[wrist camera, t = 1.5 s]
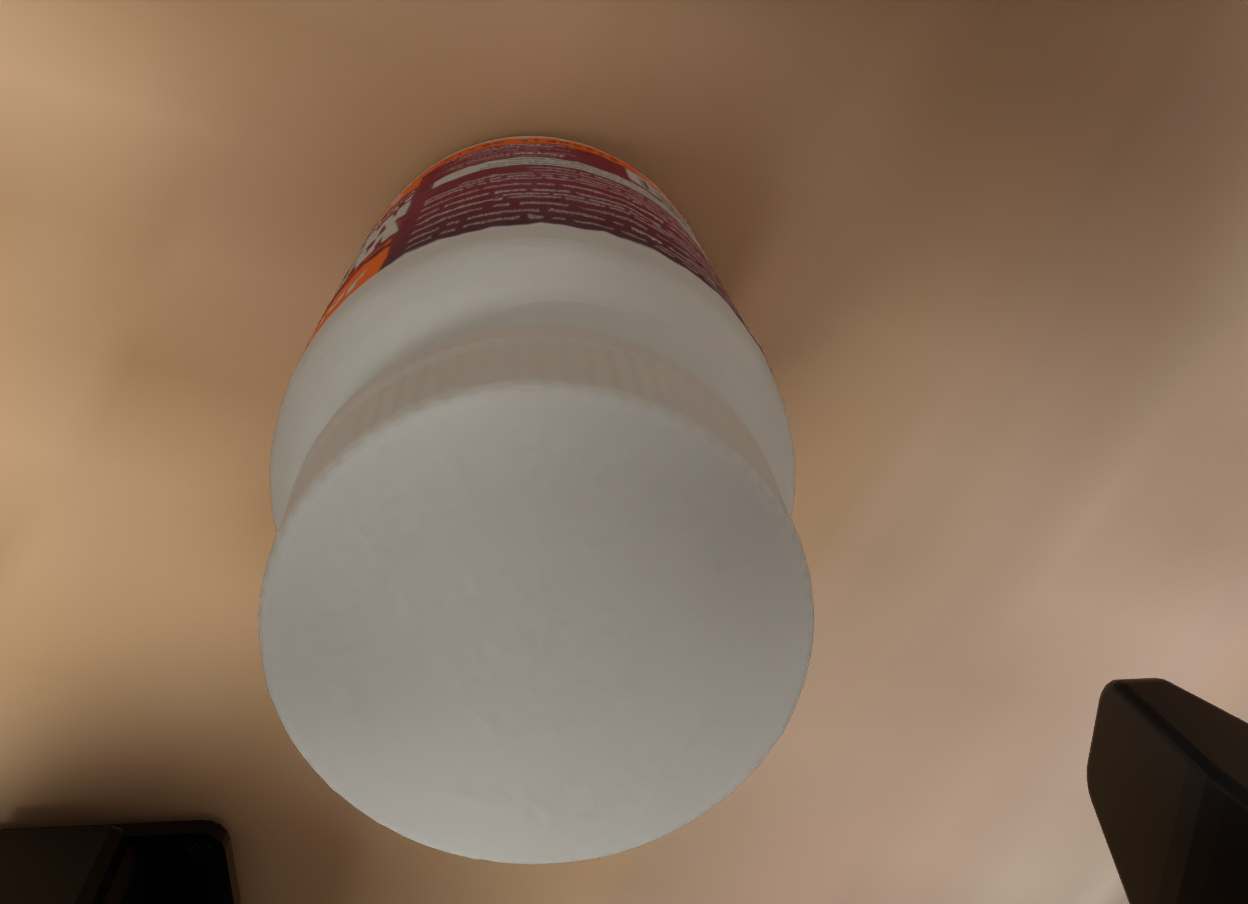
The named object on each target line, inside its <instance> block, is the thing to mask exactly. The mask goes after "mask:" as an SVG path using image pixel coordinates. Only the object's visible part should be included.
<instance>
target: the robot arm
mask: <svg viewBox="0 0 1248 904" xmlns="http://www.w3.org/2000/svg"><path fill="white" fill-rule="evenodd" d="M1087 783H1088V790H1089V794H1090V798H1091V801H1092V804H1093V806H1094V809H1095V812H1096V815H1097V817H1098V820H1099V823H1100V825H1101V828H1102V831H1103V833H1104V836H1105V839H1106V842H1107V844H1108V847H1109V850H1110V852H1111V855H1112V858H1113V860H1114V863H1115V866H1116V869H1117V871H1118V874H1119V877H1120V879H1121V882H1122V885H1123V887H1124V890H1125V893H1126V896H1127V898H1128V901H1129V904H1248V723H1247V722H1245V721H1243V720H1241V719H1239V718H1237V717H1235V716H1233V715H1231V714H1229V713H1228V712H1226V711H1224V710H1222V709H1220V708H1218V707H1216V706H1214V705H1212V704H1210V703H1208V702H1207V701H1205V700H1203V699H1201V698H1199V697H1197V696H1195V695H1193V694H1191V693H1189V692H1188V691H1186V690H1184V689H1182V688H1180V687H1178V686H1176V685H1174V684H1172V683H1170V682H1169V681H1166V680H1164V679H1159V678H1142V679H1118V680H1113V681H1111V682H1110V683H1108V684H1107V685H1106V686H1105V687H1104V689H1103V691H1102V693H1101V696H1100V699H1099V704H1098V710H1097V715H1096V720H1095V726H1094V731H1093V737H1092V742H1091V747H1090V753H1089V758H1088V764H1087ZM195 843H206V844H207V845H209V846H210V847H211V848H210V849H204V848H200V847H198V846H197V845H195ZM0 904H241V902H240V896H239V890H238V884H237V878H236V872H235V865H234V859H233V853H232V847H231V841H230V837H229V834H228V832H227V830H226V829H225V828H223V827H222V826H221V825H220V824H218V823H215V822H213V821H207V820H192V821H171V822H150V823H130V824H109V825H88V826H67V827H46V828H25V829H4V830H0Z"/></svg>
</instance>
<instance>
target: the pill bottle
mask: <svg viewBox="0 0 1248 904" xmlns="http://www.w3.org/2000/svg"><path fill="white" fill-rule="evenodd" d="M270 491H271V502H272V510H273V517H274V522H275V526H276V531H277V535H276V538H275V541H274V544H273V547H272V549H271V552H270V555H269V558H268V562H267V565H266V569H265V573H264V577H263V583H262V589H261V595H260V605H259V643H260V650H261V658H262V665H263V670H264V675H265V679H266V683H267V688H268V691H269V694H270V696H271V699H272V701H273V703H274V706H275V708H276V710H277V713H278V715H279V717H280V720H281V722H282V724H283V726H284V728H285V730H286V731H287V733H288V735H289V737H290V739H291V740H292V742H293V743H294V745H295V746H296V747H297V749H298V750H299V752H300V753H301V754H302V756H303V757H304V758H305V759H306V761H307V762H308V763H309V764H310V766H311V767H312V768H313V769H314V770H315V771H316V772H317V773H318V775H319V776H320V777H321V778H322V779H323V780H324V781H325V782H326V783H327V784H328V785H329V786H330V788H331V789H333V790H334V791H335V792H337V793H338V794H339V795H340V796H342V797H343V798H344V799H346V800H347V801H348V802H349V803H351V804H352V805H353V806H354V807H356V808H357V809H358V810H360V811H361V812H363V813H364V814H366V815H367V816H369V817H370V818H372V819H373V820H374V821H376V822H377V823H379V824H381V825H383V826H385V827H387V828H389V829H391V830H393V831H395V832H396V833H398V834H400V835H402V836H404V837H406V838H409V839H411V840H413V841H415V842H418V843H420V844H423V845H426V846H429V847H432V848H435V849H438V850H441V851H444V852H447V853H452V854H456V855H460V856H464V857H468V858H471V859H475V860H489V861H493V862H500V863H515V864H550V863H562V862H572V861H582V860H588V859H594V858H600V857H605V856H609V855H613V854H616V853H620V852H623V851H626V850H629V849H632V848H635V847H638V846H641V845H643V844H645V843H648V842H650V841H652V840H655V839H657V838H660V837H662V836H664V835H666V834H668V833H670V832H672V831H674V830H676V829H678V828H680V827H682V826H684V825H686V824H688V823H690V822H691V821H693V820H695V819H696V818H698V817H699V816H700V815H702V814H703V813H705V812H706V811H708V810H709V809H710V808H712V807H713V806H715V805H716V804H717V803H719V802H720V801H721V800H722V799H723V798H725V797H726V796H727V795H728V794H729V793H731V792H732V791H733V790H734V789H735V788H736V787H737V786H739V785H740V784H741V783H742V782H743V781H744V780H745V779H746V778H747V777H748V776H749V775H750V774H751V773H752V772H753V771H754V770H755V768H756V767H757V766H758V765H759V764H760V763H761V762H762V760H763V759H764V758H765V756H766V755H767V754H768V752H769V751H770V749H771V748H772V747H773V745H774V744H775V743H776V741H777V740H778V738H779V737H780V735H781V734H782V733H783V731H784V729H785V727H786V725H787V723H788V721H789V719H790V717H791V715H792V713H793V710H794V708H795V706H796V703H797V701H798V698H799V696H800V693H801V690H802V687H803V684H804V681H805V678H806V673H807V669H808V665H809V660H810V657H811V650H812V643H813V630H814V607H813V596H812V586H811V577H810V573H809V569H808V565H807V561H806V557H805V554H804V551H803V548H802V545H801V541H800V538H799V535H798V533H797V531H796V529H795V526H794V524H793V522H792V520H791V515H792V508H793V500H794V491H795V463H794V451H793V442H792V436H791V431H790V425H789V421H788V417H787V414H786V410H785V407H784V403H783V400H782V397H781V395H780V392H779V390H778V387H777V385H776V382H775V380H774V377H773V374H772V371H771V369H770V367H769V365H768V363H767V361H766V358H765V356H764V353H763V351H762V350H761V348H760V347H759V345H758V343H757V342H756V340H755V339H754V337H753V336H752V335H751V333H750V332H749V330H748V329H747V327H746V325H745V323H744V322H743V320H742V318H741V317H740V315H739V313H738V311H737V310H736V308H735V306H734V305H733V303H732V301H731V300H730V298H729V296H728V294H727V292H726V291H725V289H724V287H723V286H722V284H721V282H720V281H719V279H718V277H717V275H716V273H715V272H714V270H713V269H712V267H711V265H710V263H709V261H708V259H707V257H706V255H705V254H704V252H703V250H702V248H701V247H700V245H699V244H698V241H697V239H696V238H695V236H694V234H693V232H692V231H691V229H690V227H689V226H688V224H687V223H686V222H685V220H684V219H683V217H682V216H681V214H680V213H679V212H678V210H677V209H676V208H675V206H674V205H673V204H672V203H671V202H670V200H669V199H668V198H667V197H666V196H665V195H664V194H663V193H662V192H661V191H660V189H659V188H658V187H657V186H656V185H655V184H654V183H652V182H651V181H650V180H649V179H648V178H646V177H645V176H644V175H643V174H641V173H640V172H639V171H637V170H636V169H634V168H633V167H631V166H630V165H628V164H627V163H625V162H623V161H621V160H620V159H618V158H616V157H614V156H612V155H610V154H608V153H605V152H603V151H601V150H598V149H596V148H594V147H591V146H588V145H586V144H582V143H578V142H574V141H570V140H565V139H560V138H555V137H544V136H514V137H506V138H500V139H495V140H489V141H485V142H481V143H478V144H476V145H473V146H470V147H467V148H464V149H461V150H459V151H457V152H455V153H453V154H451V155H449V156H447V157H445V158H443V159H442V160H440V161H438V162H437V163H435V164H433V165H432V166H431V167H429V168H428V169H426V170H425V171H423V172H422V173H421V174H420V175H419V176H417V177H416V178H415V179H414V180H413V181H412V182H410V183H409V184H408V185H407V186H406V187H405V188H404V189H403V190H402V191H401V193H400V194H399V195H398V196H397V197H396V198H395V199H394V200H393V202H392V203H391V204H390V205H389V207H388V208H387V209H386V211H385V212H384V214H383V215H382V216H381V218H380V219H379V221H378V222H377V224H376V225H375V227H374V229H373V231H372V232H371V233H370V235H369V236H368V237H367V239H366V241H365V243H364V244H363V246H362V248H361V250H360V251H359V253H358V254H357V256H356V258H355V260H354V262H353V264H352V265H351V267H350V269H349V271H348V272H347V274H346V275H345V277H344V279H343V281H342V283H341V284H340V286H339V288H338V289H337V291H336V294H335V296H334V298H333V299H332V301H331V303H330V304H329V306H328V307H327V309H326V311H325V313H324V315H323V317H322V318H321V320H320V322H319V324H318V326H317V328H316V329H315V332H314V334H313V335H312V337H311V339H310V341H309V343H308V345H307V347H306V349H305V351H304V353H303V355H302V357H301V359H300V361H299V363H298V365H297V367H296V369H295V371H294V373H293V376H292V378H291V380H290V382H289V385H288V387H287V390H286V393H285V396H284V398H283V401H282V404H281V408H280V411H279V415H278V418H277V422H276V427H275V432H274V437H273V443H272V451H271V462H270Z"/></svg>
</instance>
